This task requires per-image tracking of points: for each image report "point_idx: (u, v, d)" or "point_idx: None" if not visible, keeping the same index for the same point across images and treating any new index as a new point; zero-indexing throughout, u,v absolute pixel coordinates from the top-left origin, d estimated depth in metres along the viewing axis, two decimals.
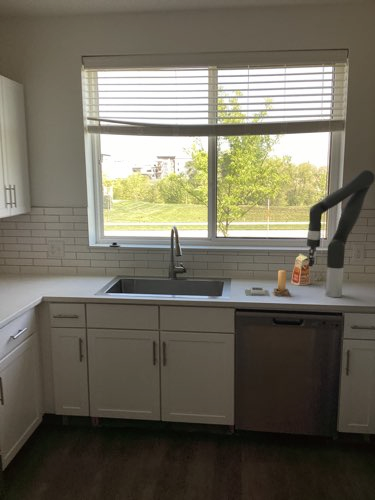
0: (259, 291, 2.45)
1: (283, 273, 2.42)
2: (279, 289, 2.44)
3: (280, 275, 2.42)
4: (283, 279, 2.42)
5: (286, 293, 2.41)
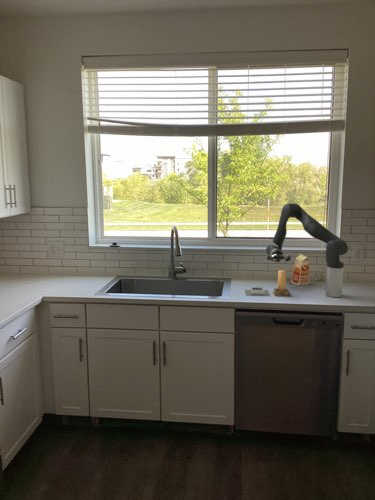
0: (259, 291, 2.45)
1: (283, 273, 2.42)
2: (279, 289, 2.44)
3: (280, 275, 2.42)
4: (283, 279, 2.42)
5: (286, 293, 2.41)
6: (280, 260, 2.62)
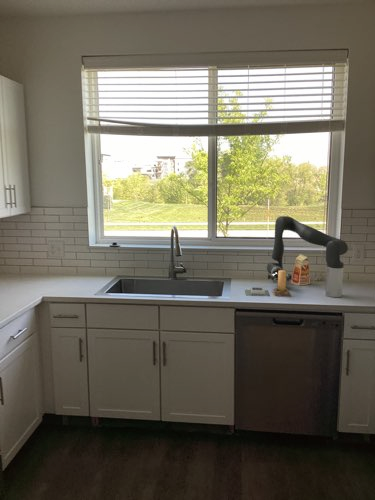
0: (259, 291, 2.45)
1: (283, 273, 2.42)
2: (279, 289, 2.44)
3: (280, 275, 2.42)
4: (283, 279, 2.42)
5: (286, 293, 2.41)
6: None
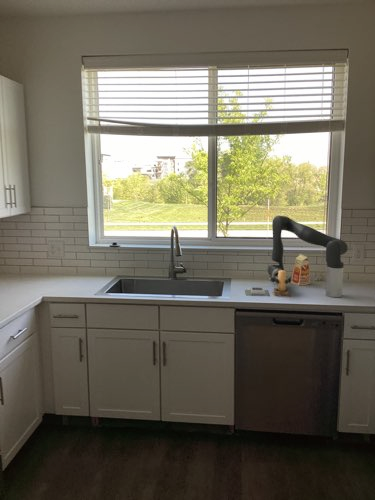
0: (259, 291, 2.45)
1: (283, 273, 2.42)
2: (279, 289, 2.44)
3: (280, 275, 2.42)
4: (283, 279, 2.42)
5: (286, 293, 2.41)
6: None
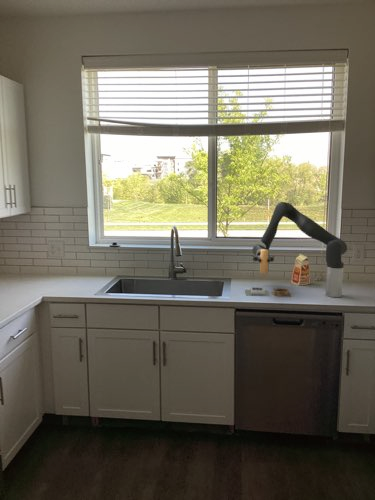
0: (259, 291, 2.45)
1: (265, 252, 2.42)
2: (261, 268, 2.45)
3: (262, 254, 2.43)
4: (265, 258, 2.43)
5: (286, 293, 2.41)
6: None
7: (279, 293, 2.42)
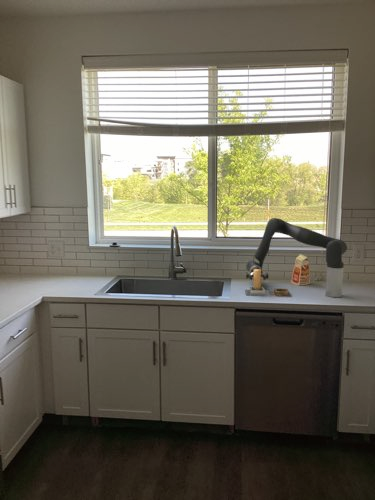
0: (259, 291, 2.45)
1: (258, 272, 2.44)
2: (255, 288, 2.47)
3: (255, 274, 2.45)
4: (258, 278, 2.45)
5: (286, 293, 2.41)
6: None
7: (279, 293, 2.42)
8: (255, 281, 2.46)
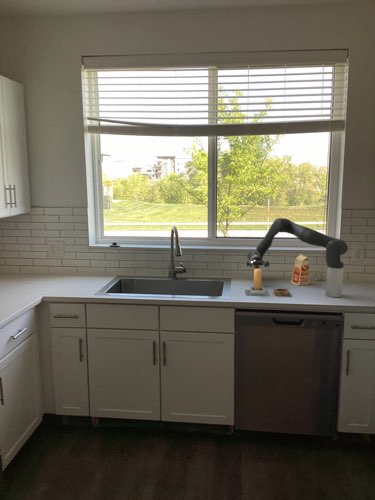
0: (259, 291, 2.45)
1: (258, 272, 2.45)
2: (255, 288, 2.47)
3: (255, 274, 2.45)
4: (258, 278, 2.45)
5: (286, 293, 2.41)
6: (259, 266, 2.66)
7: (279, 293, 2.42)
8: (255, 281, 2.46)
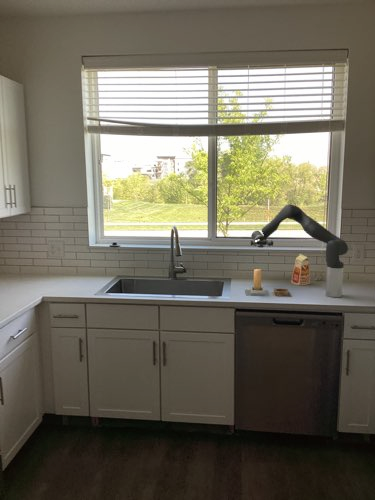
0: (259, 291, 2.45)
1: (258, 272, 2.45)
2: (255, 288, 2.47)
3: (255, 274, 2.45)
4: (258, 278, 2.45)
5: (286, 293, 2.41)
6: (263, 245, 2.68)
7: (279, 293, 2.42)
8: (255, 281, 2.46)
